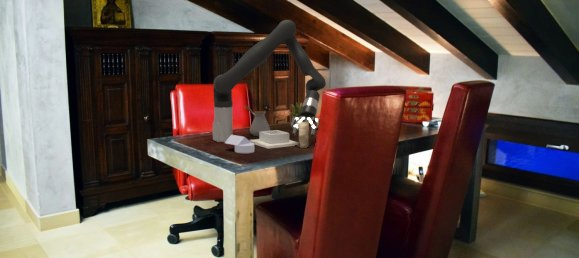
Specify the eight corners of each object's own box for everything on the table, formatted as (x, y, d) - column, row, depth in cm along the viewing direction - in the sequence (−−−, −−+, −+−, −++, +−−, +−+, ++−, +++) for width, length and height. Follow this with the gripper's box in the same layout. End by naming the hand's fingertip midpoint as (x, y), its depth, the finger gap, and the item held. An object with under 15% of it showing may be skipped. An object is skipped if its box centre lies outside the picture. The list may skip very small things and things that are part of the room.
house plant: (310, 131, 284) (311, 103, 282) (286, 131, 285) (287, 102, 282) (310, 127, 298) (310, 100, 296) (287, 127, 299) (287, 100, 296)
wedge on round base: (224, 150, 229) (245, 154, 221) (224, 135, 228) (245, 139, 220) (237, 147, 236) (258, 151, 228) (237, 133, 235) (258, 136, 227)
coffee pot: (274, 135, 269) (274, 108, 267) (256, 137, 263) (257, 109, 260) (253, 130, 286) (253, 104, 284) (236, 132, 279) (236, 105, 277)
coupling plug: (300, 148, 236) (301, 123, 234) (295, 146, 239) (295, 122, 238) (311, 147, 239) (312, 122, 237) (305, 145, 243) (306, 121, 241)
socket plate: (267, 148, 234) (267, 136, 233) (249, 142, 249) (249, 131, 248) (299, 145, 244) (299, 133, 243) (279, 139, 259) (279, 128, 258)
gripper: (294, 103, 245) (287, 130, 236) (322, 105, 241) (316, 131, 232) (297, 113, 251) (290, 139, 242) (324, 114, 247) (318, 141, 238)
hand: (303, 135), depth 237 cm, fingers open, 8 cm apart
